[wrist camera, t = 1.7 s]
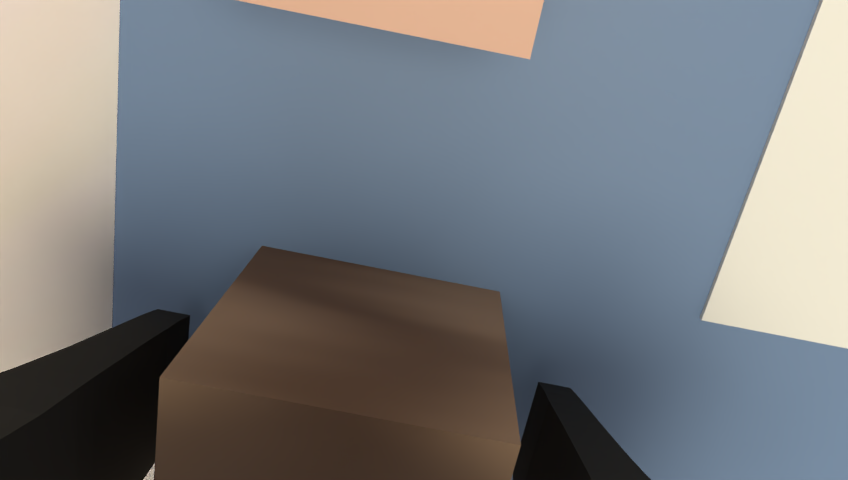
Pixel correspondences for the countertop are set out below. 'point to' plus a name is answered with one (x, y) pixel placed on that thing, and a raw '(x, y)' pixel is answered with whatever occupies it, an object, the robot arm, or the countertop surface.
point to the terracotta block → (436, 19)
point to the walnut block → (340, 379)
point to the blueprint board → (530, 198)
